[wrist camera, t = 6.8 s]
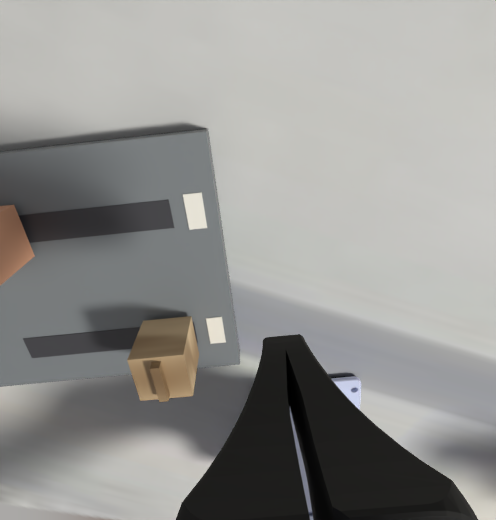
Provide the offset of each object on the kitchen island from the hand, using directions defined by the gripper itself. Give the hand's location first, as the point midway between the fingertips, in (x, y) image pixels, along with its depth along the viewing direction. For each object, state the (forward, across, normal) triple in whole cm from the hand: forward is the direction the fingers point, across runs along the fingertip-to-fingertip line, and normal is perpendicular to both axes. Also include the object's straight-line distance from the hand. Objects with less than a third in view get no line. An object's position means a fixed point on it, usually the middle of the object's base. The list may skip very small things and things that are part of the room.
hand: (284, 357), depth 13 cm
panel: (+10, +12, 0) cm, 16 cm away
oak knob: (+9, +6, +5) cm, 12 cm away
